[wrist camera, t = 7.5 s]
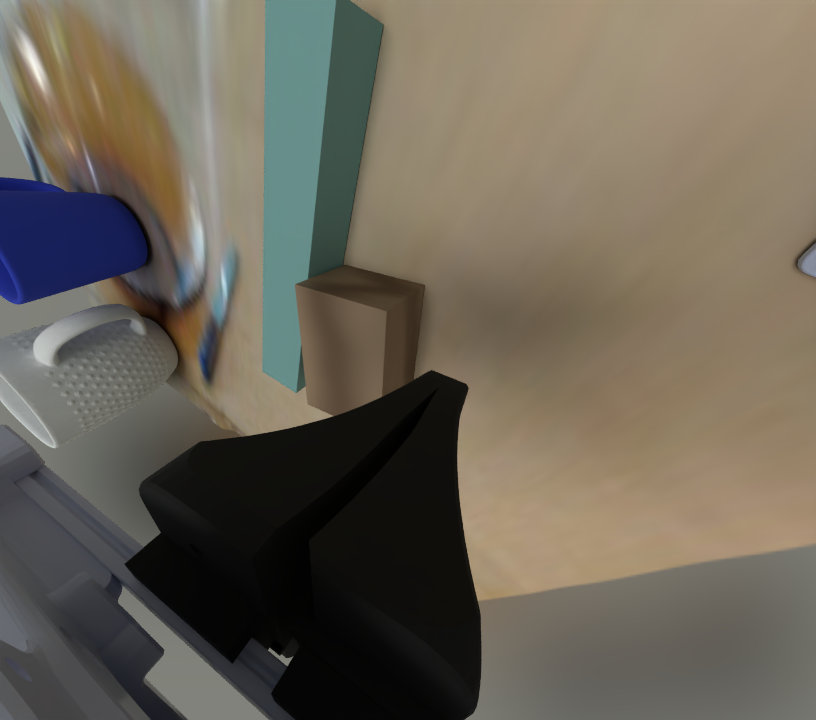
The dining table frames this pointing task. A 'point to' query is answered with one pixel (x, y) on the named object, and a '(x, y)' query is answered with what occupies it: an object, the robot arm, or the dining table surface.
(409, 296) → the block
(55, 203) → the mug
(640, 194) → the dining table surface
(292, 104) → the teal rectangular bar
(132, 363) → the mug
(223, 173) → the dining table surface
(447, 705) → the robot arm
